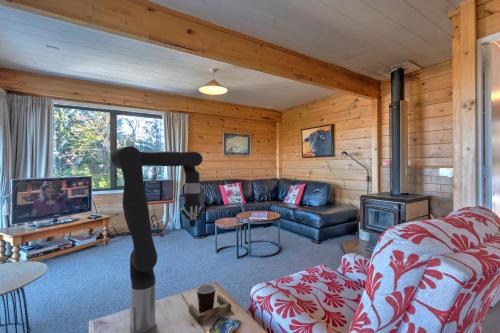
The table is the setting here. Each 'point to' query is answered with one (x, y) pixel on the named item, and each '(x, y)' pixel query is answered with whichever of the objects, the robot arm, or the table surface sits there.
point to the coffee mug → (206, 297)
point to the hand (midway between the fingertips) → (192, 227)
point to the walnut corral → (211, 310)
